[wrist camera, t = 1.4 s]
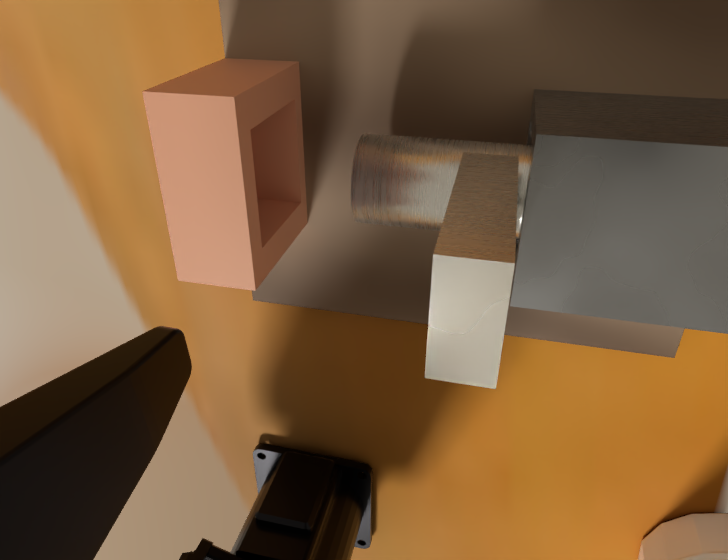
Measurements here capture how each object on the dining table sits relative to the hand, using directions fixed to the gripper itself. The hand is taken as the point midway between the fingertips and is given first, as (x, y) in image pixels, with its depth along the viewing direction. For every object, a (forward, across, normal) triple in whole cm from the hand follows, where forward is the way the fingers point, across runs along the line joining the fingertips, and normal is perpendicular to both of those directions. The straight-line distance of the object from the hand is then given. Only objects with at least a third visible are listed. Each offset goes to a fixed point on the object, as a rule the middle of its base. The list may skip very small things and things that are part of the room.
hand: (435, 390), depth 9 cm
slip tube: (+11, -2, +1) cm, 12 cm away
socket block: (+13, +8, +1) cm, 16 cm away
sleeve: (+13, -4, +2) cm, 14 cm away
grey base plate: (+13, +1, +1) cm, 13 cm away
